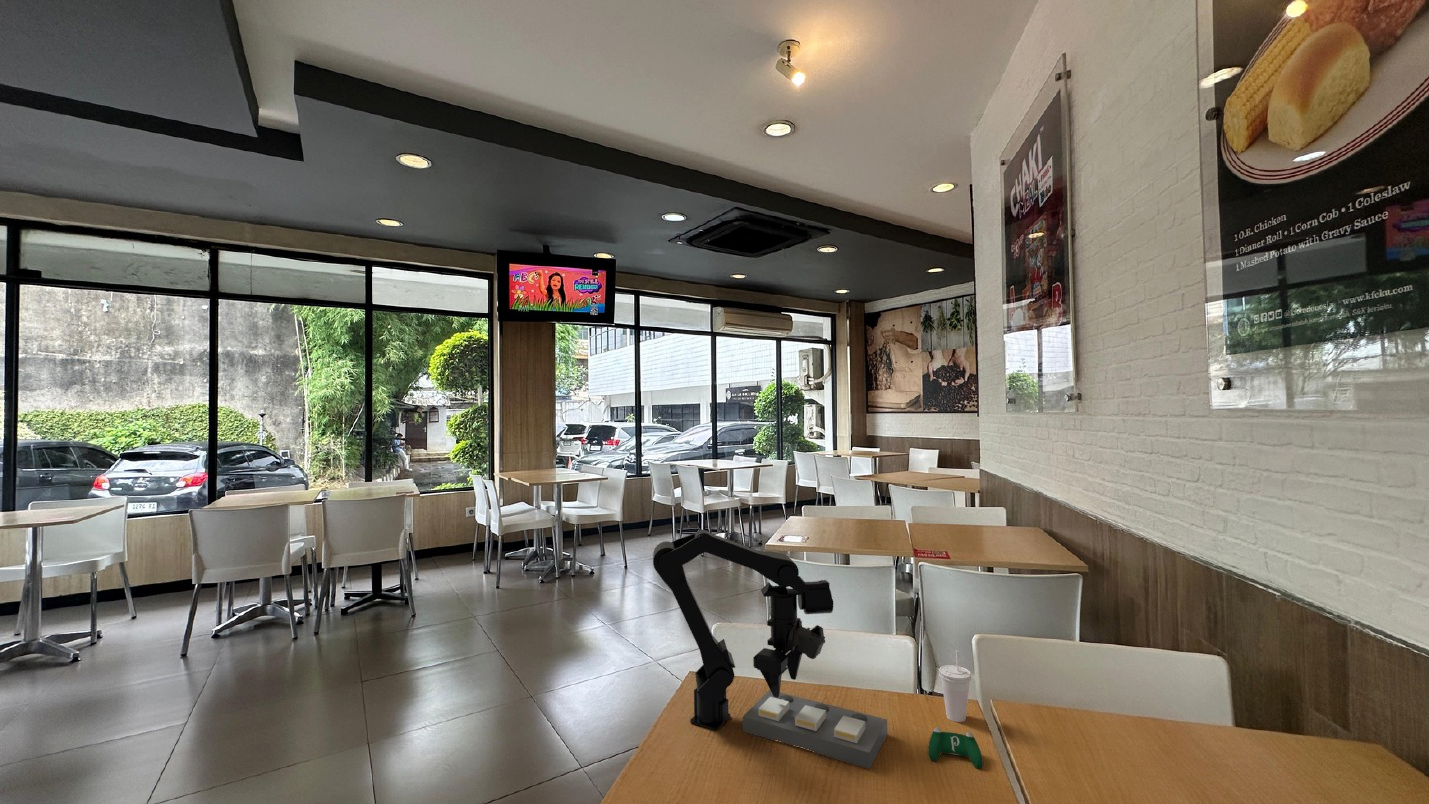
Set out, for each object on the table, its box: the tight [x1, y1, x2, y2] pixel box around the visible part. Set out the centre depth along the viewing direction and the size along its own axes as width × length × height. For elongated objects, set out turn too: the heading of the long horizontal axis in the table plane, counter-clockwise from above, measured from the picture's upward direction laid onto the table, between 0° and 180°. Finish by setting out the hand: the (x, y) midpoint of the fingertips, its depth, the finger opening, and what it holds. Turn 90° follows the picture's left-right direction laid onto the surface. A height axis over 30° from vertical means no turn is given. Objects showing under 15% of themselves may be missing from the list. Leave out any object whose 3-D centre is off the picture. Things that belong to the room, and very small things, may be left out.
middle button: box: [795, 705, 826, 731], centre depth 116 cm, size 4×6×2 cm
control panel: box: [742, 689, 888, 770], centre depth 118 cm, size 26×13×3 cm, turn 60°
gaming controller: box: [928, 727, 984, 769], centre depth 109 cm, size 9×4×6 cm
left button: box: [759, 697, 789, 721], centre depth 120 cm, size 4×6×2 cm
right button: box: [834, 716, 865, 743], centre depth 112 cm, size 4×6×2 cm
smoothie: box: [938, 650, 973, 723], centre depth 123 cm, size 6×6×14 cm
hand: (785, 687), depth 125 cm, fingers open, 9 cm apart
